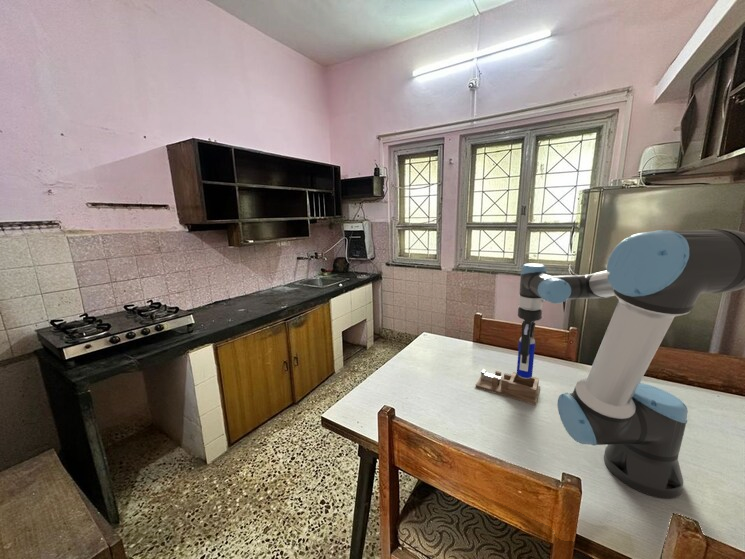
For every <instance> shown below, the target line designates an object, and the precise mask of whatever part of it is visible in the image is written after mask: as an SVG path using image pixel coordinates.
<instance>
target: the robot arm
mask: <svg viewBox="0 0 745 559" xmlns="http://www.w3.org/2000/svg"><path fill="white" fill-rule="evenodd" d="M520 271H521V272H520V279H519V283H520V284H519V294H518V309H517V316H518V318H519V319H522V320H523V321H522V322H521V336H520V337H521V349H520V352H518V353H519V354H521V356H520V368H519V370H523V371H527V372H528V365H529V348H530V339H531V337H532V338H534V333H535V327H536V322H537V321H540V320H542V318H543V317H542V315H543V309H542V308H543V303H545V302H546V301H547V302H549V303H551V304H562V303H563V302H566V301H567V300H581V299H584V300H585V299H587V300H588V299H592V300H593V299H595V300H599V299H600V300H601V299H608V298H611V297H616V298H617V300H618V301H617V304H616V306H615V309H614V311H613V314H612V316H611V318H610V321H609V324H608V325H607V329H606V330H605V334H604V336H603V339H602V341H601V344H600V346H599V348H598V351H597V353H596V356H595V358H594V360H593V362H592V365H591V368H590V370H589V373H588V375H587V377H585V378H580V380H578V381H577V382H576V385H575V387H574V389H573V391H572V392H571V393H569V392H565V393H561V394H560V395H559V396H558V398H557V410H558V411H557V412H558V415H559V418H560V421H561V423H562V426H563V427H564V429H565V431H566V433H567V434H568V435H569V436H570V437H571V438H572V440H574V441H575V442H576V443H579V444H581V445H591V446H603V445H604V446H605V445H606V446H605V449H604V454H603V461H604V464H605V466H606V467H607V469H608V470H609V471H610V472H611V473H612V474H613V476H615V477H616V478H617V479H618V480H619V481H621V482H622V483H624V484H626V485H627V486H629V487H631V488H632V489H634V490H636V491H638V492H640V493H643V494H645V495H648V496H651V497H654V498H659V499H674V498H677V497H679V496H680V495H682V492H683V488H684V478H683V474H682V470H681V466H680V462H679V455H680V451H681V446H682V443H683V439H684V435H685V431H686V430H685V429H686V426H687V424H688V407H687V405H686V404H685V402H683V401H682V400H681V399H680V398H678V397H677V396H676V395H674V394H672V393H670V392H668V391H666V390H664V389H661V388H658V387H656V386H653V385H650V384H646V383H643V382H641V381H642V379H643V377H644V375H645V374H646V372H647V370H648V369H649V366H650V365H651V362H652V360H654V359H653V358H654V357H655V355H656V354H657V351H658V349H659V347H660V345H661V344H662V342H663V339H664V338H665V336H666V334H667V332H668V330H669V329H670V327H671V324H672V323H673V320H674V318H675V317H680V316H684V315H688V314H690V312H691V311H692V309H693V308H694V306H695V304H696V302H698V299H699V297H700V296H701V294H722V293H724V294H725V293H729V292H737V291H740V290H743V289H745V232H743V231H740V230H735V229H728V228H714V229H712V228H710V229H688V230H683V229H682V230H668V229H660V230H652V231H646V232H638V233H635V234H632V235H630V236H628V237H625V238H624V239H623V240H621V241H620V242H619V243H618V244H616V246H615V247H614V248H613V250H612V252H610V255H609V257H608V259H607V264H606V270H602V271H598V272H593V273H589V274H578V275H575V274H571V275H569V274H568V275H567V274H566V275H550V274H547V267H546V265H545V264H543V263H524V264H523V265H522V266H521V270H520ZM518 353H517V354H518Z"/></svg>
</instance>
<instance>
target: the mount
mask: <svg viewBox="0 0 745 559" xmlns="http://www.w3.org/2000/svg"><path fill="white" fill-rule="evenodd" d="M486 372H487V371H486ZM487 373H490V374H494V375H498V376H501V382H500V384H498V377H495V376H493V377H492V383H491V382H488V381H484V380H481V376H480V377H479V379H478V380H477V382H476V384H475V388H477V389H479V390H480V389H481V390H483V391H488V392H490V393H493V394H496V395H501V396H504V397H507V398H510V399H514V400H517V401H521V402H524V403H526V404H530V405H534V406H536V405H537V402H538V397H539V393H540V390H541V386H540V385H539V384H540V378H539V377H537V376H532V377H531V378H529V379H524V378H521V377H519V376H518V375H517V371H513V372H512V373H511V374H510V373H506V372H504V373H503V375H502V371H499V370H495V372H494V373H492V372H487Z"/></svg>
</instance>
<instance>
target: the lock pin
mask: <svg viewBox="0 0 745 559" xmlns="http://www.w3.org/2000/svg"><path fill="white" fill-rule="evenodd" d="M490 373H491V372H488V373H487V369H484V368H482V370H481V372H480V377H481V380H484V381H488V382H491V383H492V377H493V376H495V377H498V384H500V382H501V376H502V375H501V376H498V375H494V374H495V373H492V374H490Z"/></svg>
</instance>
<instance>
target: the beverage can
mask: <svg viewBox="0 0 745 559" xmlns="http://www.w3.org/2000/svg"><path fill="white" fill-rule="evenodd" d="M521 337H522V336H520V338H519V341H518V352H520V349H521ZM535 349H536V340H535V338H534V337H533V338H532V337H531V339H530V348H529V365H528V372H527V371H523V370H519V368H520V356H521V354H519V353H517V364H516V365H517V366H516V373H517V375H518V376H519V377H521V378H524V379H529V378H531V377H533V369H534V359H535Z"/></svg>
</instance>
